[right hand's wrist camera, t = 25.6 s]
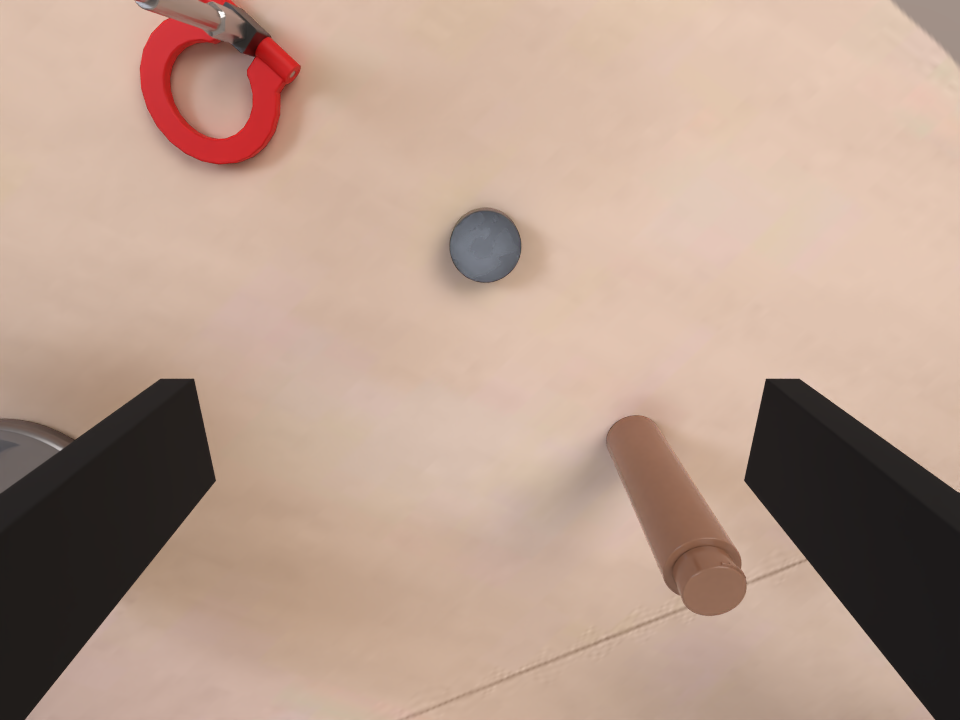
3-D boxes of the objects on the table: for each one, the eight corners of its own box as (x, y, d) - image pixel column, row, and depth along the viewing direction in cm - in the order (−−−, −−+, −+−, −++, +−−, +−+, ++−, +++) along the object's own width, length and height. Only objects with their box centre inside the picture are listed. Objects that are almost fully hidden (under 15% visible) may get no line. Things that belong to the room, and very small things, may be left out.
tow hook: (237, 190, 36) (317, 77, 33) (109, 219, 24) (215, 47, 21) (127, 97, 34) (201, -33, 31) (-73, 79, 22) (18, -132, 19)
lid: (506, 197, 36) (507, 199, 34) (528, 262, 38) (530, 268, 36) (440, 222, 37) (438, 225, 35) (465, 286, 38) (465, 292, 37)
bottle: (649, 466, 44) (736, 629, 29) (599, 456, 44) (661, 615, 29) (668, 421, 42) (770, 568, 28) (616, 410, 42) (691, 552, 27)
